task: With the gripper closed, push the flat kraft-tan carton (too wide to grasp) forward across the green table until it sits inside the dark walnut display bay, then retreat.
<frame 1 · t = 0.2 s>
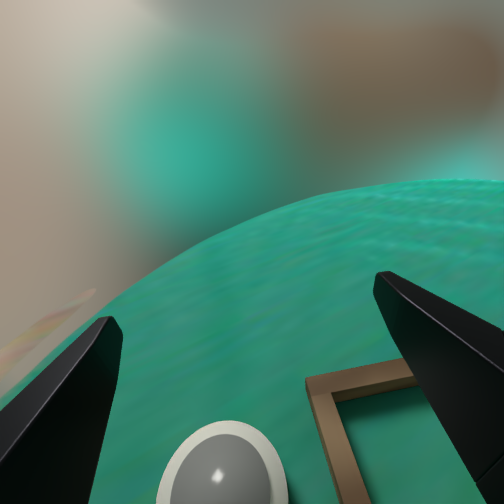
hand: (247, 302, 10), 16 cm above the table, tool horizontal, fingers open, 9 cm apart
push light: (226, 500, 18), on the table
display bay: (482, 455, 19), on the table
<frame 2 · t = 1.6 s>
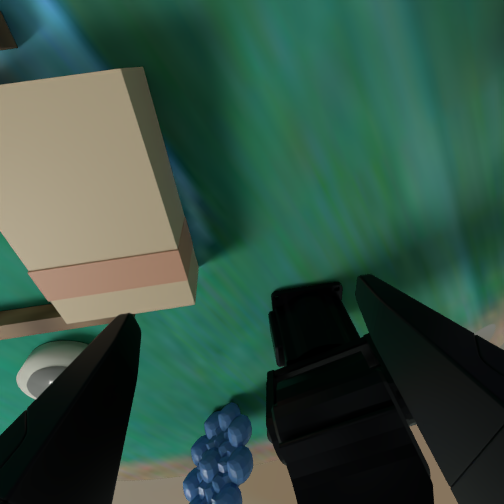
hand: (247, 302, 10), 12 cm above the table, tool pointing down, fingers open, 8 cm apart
carton: (111, 195, 20), on the table
grapes: (223, 412, 37), on the table
push light: (73, 366, 29), on the table
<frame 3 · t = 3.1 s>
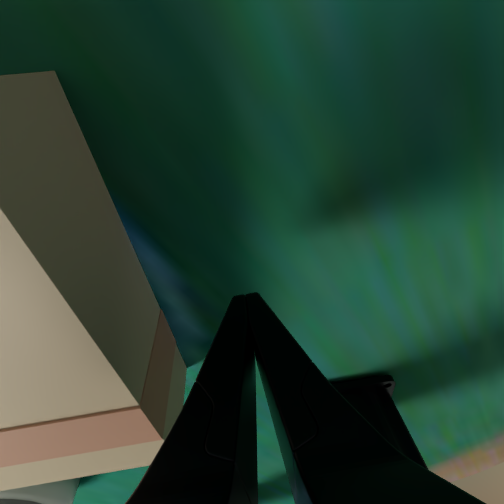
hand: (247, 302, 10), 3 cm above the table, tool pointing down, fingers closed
carton: (35, 286, 12), on the table
push light: (21, 478, 21), on the table
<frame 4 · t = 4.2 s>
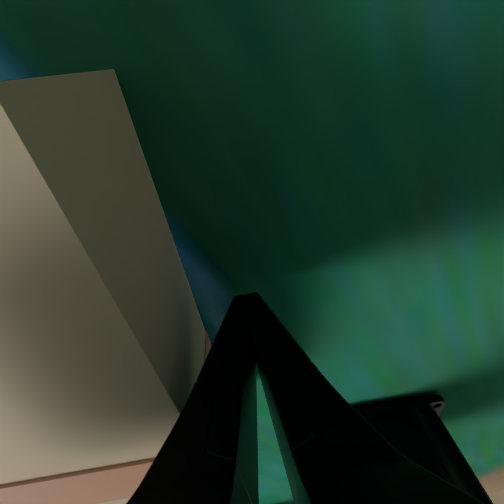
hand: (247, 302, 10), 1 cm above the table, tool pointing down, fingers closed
carton: (72, 308, 11), on the table, touching gripper
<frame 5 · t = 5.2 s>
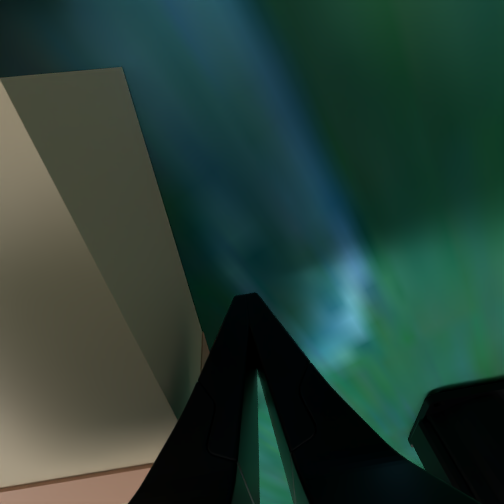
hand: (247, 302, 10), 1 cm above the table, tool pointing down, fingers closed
carton: (67, 309, 10), on the table, touching gripper
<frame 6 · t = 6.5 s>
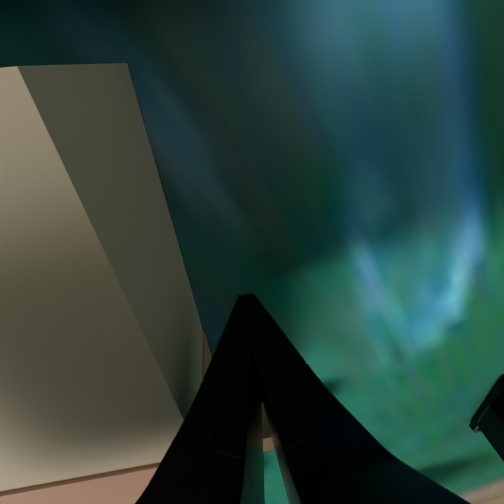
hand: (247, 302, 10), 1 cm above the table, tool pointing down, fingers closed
carton: (66, 309, 10), on the table, touching display bay, gripper
display bay: (77, 315, 10), on the table
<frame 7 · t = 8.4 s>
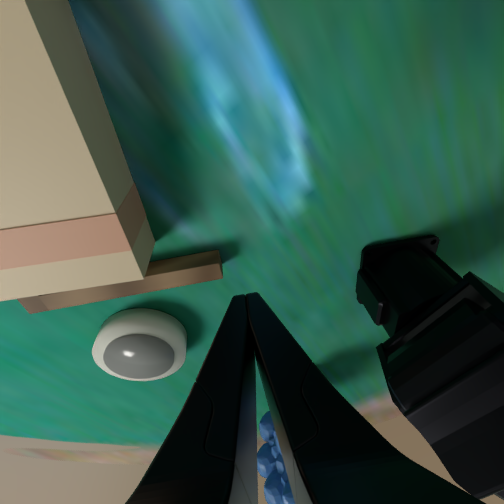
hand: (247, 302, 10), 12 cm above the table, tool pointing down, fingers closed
carton: (48, 157, 17), on the table
grapes: (286, 387, 36), on the table
push light: (144, 337, 27), on the table
display bay: (53, 162, 17), on the table
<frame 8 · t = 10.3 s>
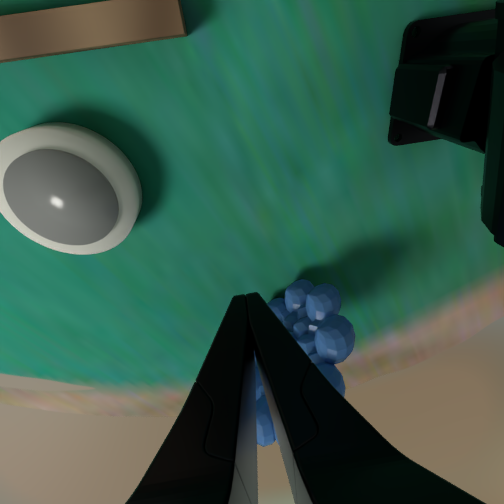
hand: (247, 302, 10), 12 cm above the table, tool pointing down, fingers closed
grapes: (283, 303, 27), on the table
push light: (78, 187, 19), on the table
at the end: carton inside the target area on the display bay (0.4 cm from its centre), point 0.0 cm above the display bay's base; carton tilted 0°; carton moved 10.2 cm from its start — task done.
